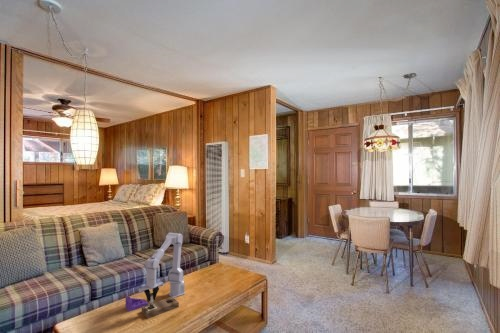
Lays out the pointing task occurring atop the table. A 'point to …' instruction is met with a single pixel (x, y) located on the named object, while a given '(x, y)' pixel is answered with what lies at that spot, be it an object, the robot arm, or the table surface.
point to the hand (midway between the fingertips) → (151, 300)
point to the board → (160, 307)
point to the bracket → (134, 303)
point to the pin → (151, 300)
